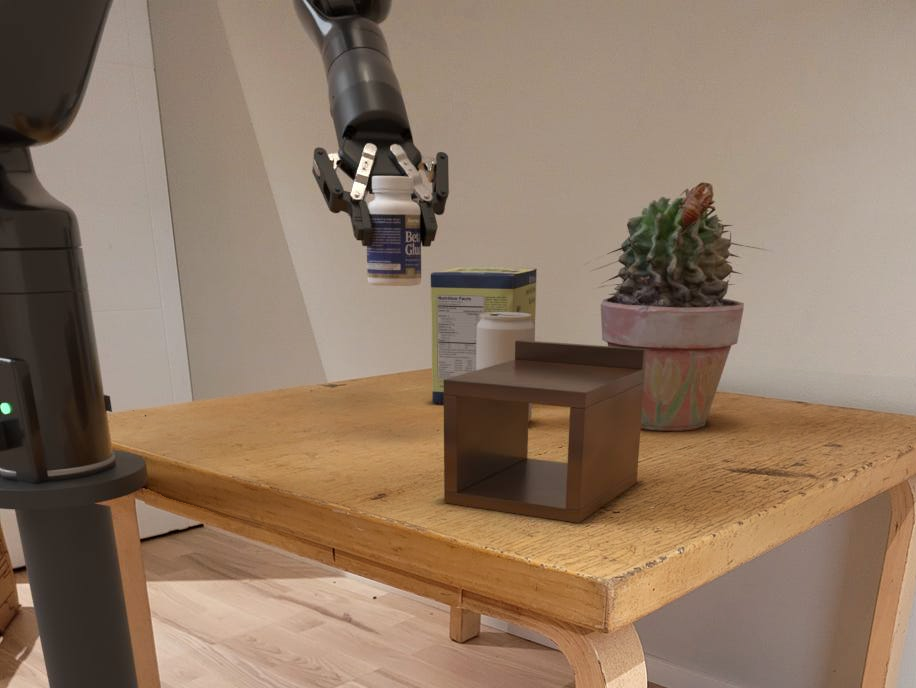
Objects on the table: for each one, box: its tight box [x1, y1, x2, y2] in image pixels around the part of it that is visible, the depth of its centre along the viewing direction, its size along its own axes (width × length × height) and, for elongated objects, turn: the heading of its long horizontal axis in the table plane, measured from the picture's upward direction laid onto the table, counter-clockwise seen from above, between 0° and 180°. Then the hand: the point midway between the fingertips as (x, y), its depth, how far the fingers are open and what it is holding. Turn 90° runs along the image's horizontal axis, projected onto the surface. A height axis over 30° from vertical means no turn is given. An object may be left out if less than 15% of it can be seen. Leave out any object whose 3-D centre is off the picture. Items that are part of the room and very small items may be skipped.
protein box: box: [430, 266, 538, 405], centre depth 123 cm, size 10×16×16 cm
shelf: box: [443, 340, 647, 524], centre depth 80 cm, size 14×12×12 cm
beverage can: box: [476, 312, 536, 421], centre depth 107 cm, size 6×6×12 cm
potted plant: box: [583, 181, 774, 432], centre depth 106 cm, size 18×20×25 cm
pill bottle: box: [366, 176, 422, 287], centre depth 94 cm, size 5×5×10 cm
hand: (398, 239), depth 93 cm, fingers closed on pill bottle, 5 cm apart
